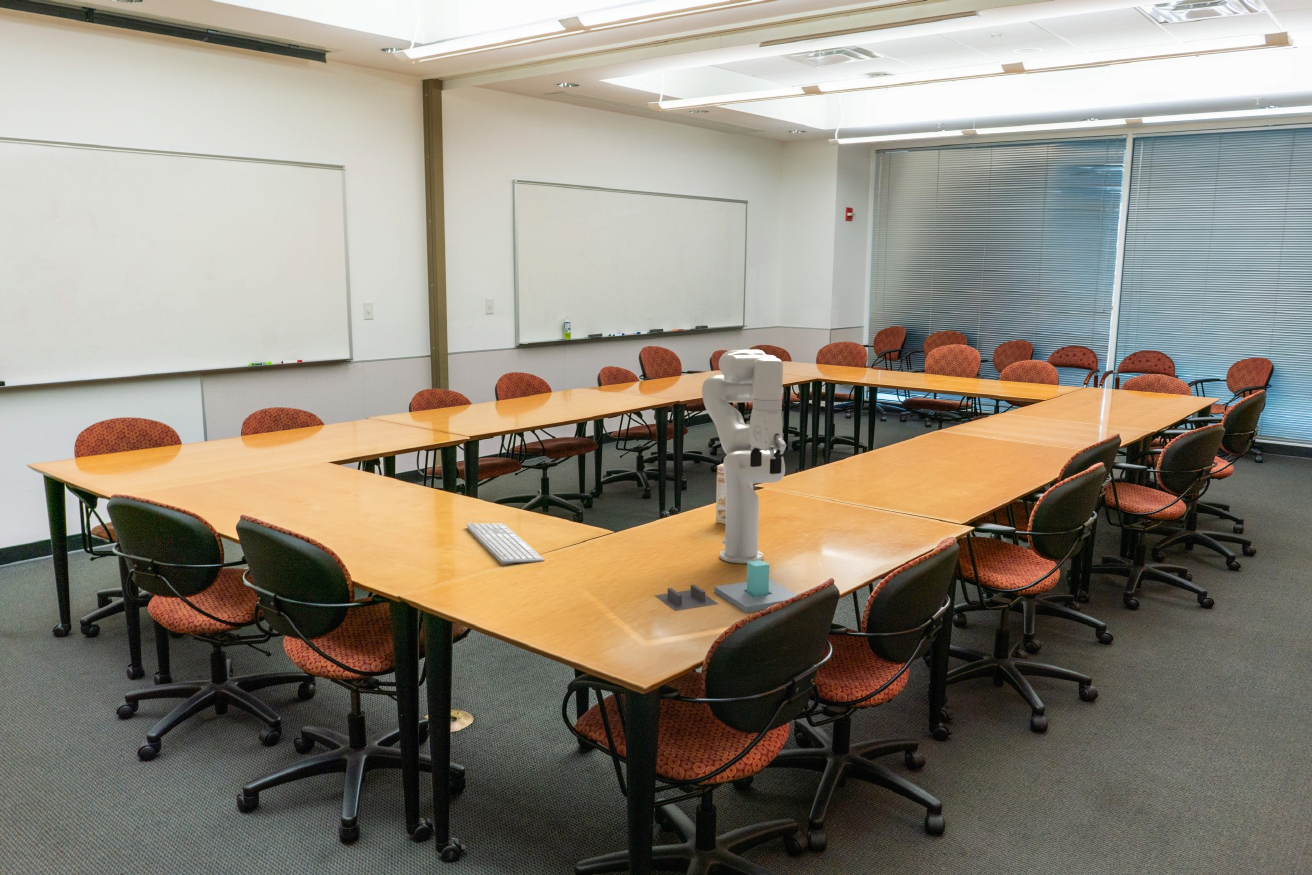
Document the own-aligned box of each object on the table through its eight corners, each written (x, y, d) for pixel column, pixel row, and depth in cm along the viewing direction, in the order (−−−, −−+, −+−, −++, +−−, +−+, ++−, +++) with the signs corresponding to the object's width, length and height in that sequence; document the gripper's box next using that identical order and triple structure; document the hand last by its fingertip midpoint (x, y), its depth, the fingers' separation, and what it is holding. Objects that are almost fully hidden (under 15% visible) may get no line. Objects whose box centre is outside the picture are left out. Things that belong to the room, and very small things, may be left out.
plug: (746, 600, 233) (747, 561, 231) (759, 597, 235) (760, 559, 233) (754, 605, 229) (755, 566, 228) (768, 602, 231) (769, 564, 229)
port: (714, 595, 236) (714, 586, 235) (767, 587, 242) (768, 578, 242) (746, 616, 221) (746, 606, 221) (802, 607, 228) (802, 597, 228)
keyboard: (545, 562, 264) (545, 554, 264) (502, 568, 259) (502, 560, 259) (503, 525, 304) (503, 518, 303) (466, 529, 299) (465, 522, 298)
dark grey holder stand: (654, 599, 233) (654, 585, 232) (696, 592, 238) (696, 579, 237) (675, 614, 222) (675, 600, 222) (718, 607, 227) (719, 594, 227)
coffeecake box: (733, 525, 304) (735, 467, 300) (714, 522, 307) (715, 465, 304) (753, 516, 316) (755, 460, 313) (735, 513, 320) (736, 458, 316)
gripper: (738, 402, 247) (736, 465, 250) (772, 410, 231) (770, 477, 234) (762, 400, 250) (760, 462, 253) (797, 409, 234) (795, 475, 237)
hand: (765, 469), depth 243 cm, fingers open, 9 cm apart
